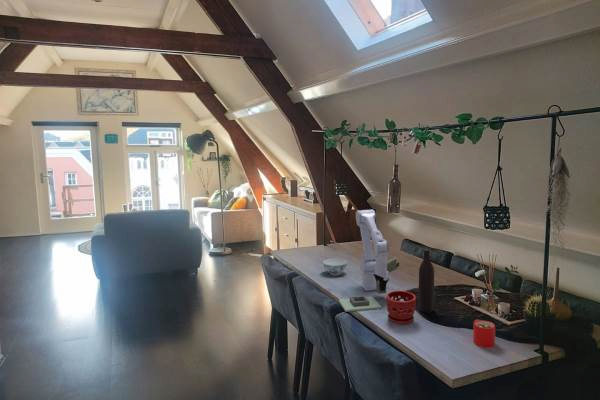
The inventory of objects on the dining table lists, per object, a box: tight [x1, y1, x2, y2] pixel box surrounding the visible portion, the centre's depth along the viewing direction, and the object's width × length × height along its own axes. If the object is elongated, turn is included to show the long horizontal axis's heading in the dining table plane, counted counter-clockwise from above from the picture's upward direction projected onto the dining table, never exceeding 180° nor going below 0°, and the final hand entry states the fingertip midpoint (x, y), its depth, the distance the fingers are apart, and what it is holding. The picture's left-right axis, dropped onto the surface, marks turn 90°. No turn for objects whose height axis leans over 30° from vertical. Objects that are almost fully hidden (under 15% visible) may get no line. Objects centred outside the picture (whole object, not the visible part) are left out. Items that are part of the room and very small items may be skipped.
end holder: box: [338, 295, 382, 313], centre depth 210 cm, size 14×18×3 cm
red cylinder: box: [472, 319, 496, 349], centre depth 169 cm, size 8×12×8 cm, turn 6°
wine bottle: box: [418, 248, 435, 313], centre depth 198 cm, size 7×7×30 cm
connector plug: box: [375, 280, 387, 295], centre depth 218 cm, size 4×4×6 cm
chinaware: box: [322, 258, 348, 276], centre depth 260 cm, size 15×15×8 cm
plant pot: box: [385, 290, 417, 325], centre depth 189 cm, size 13×13×12 cm
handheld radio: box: [387, 256, 400, 273], centre depth 265 cm, size 7×3×25 cm
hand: (381, 289), depth 218 cm, fingers closed on connector plug, 4 cm apart
